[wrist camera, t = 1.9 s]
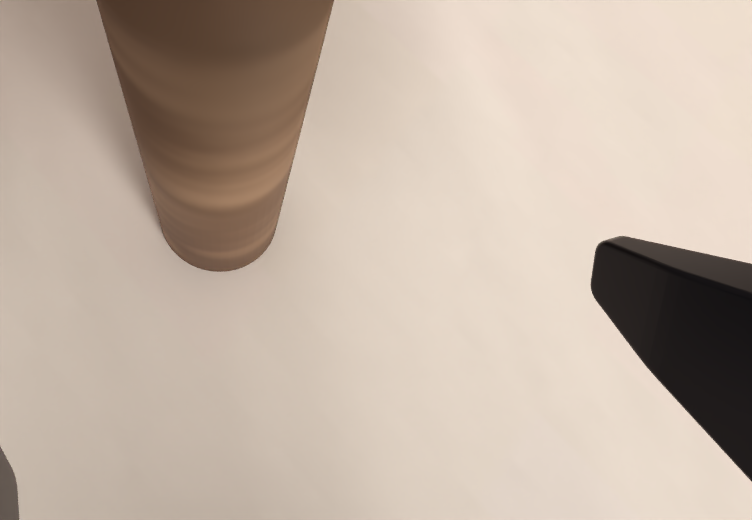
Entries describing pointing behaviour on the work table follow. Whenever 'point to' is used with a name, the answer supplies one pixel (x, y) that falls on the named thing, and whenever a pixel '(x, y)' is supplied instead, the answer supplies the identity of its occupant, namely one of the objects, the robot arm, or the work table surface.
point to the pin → (217, 113)
